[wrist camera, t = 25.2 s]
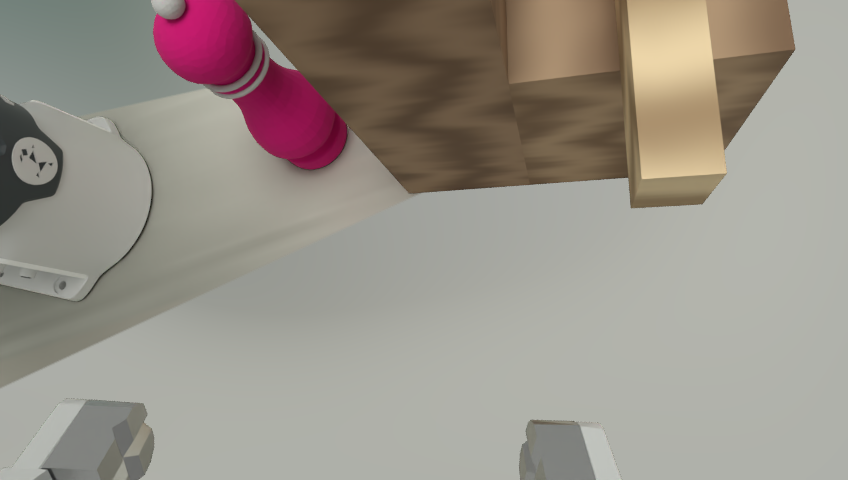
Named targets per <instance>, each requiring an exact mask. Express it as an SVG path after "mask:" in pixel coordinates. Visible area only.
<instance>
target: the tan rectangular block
mask: <svg viewBox="0 0 848 480" xmlns="http://www.w3.org/2000/svg"><path fill="white" fill-rule="evenodd" d="M615 9H616V22H617V35H618V48H619V61H620V74H621V87H622V100H623V113H624V126H625V139H626V152H627V165H628V178H629V191H630V204H631V208H644V207H660V206H661V207H662V206H680V205H698V204H703V203H704V201H705V200H706V199H707V198H708V196H709V195H710V194H711V193H712V191H713V190H714V189H715V188H716V186H717V185H718V184H719V183H720V181H721V180H722V179H723V177H724V176H725V175H726V174H727V170H726V162H725V154H724V146H723V138H722V130H721V121H720V113H719V105H718V97H717V89H716V80H715V72H714V64H713V56H712V48H711V39H710V31H709V23H708V15H707V7H706V0H615Z"/></svg>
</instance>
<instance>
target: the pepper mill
mask: <svg viewBox="0 0 848 480" xmlns="http://www.w3.org/2000/svg"><path fill="white" fill-rule="evenodd" d="M151 2H152V6H153V8H154V10H155V11H156V12H157V15H156V18H155V22H154V29H153V35H154V41H155V45H156V48H157V51H158V53H159V54H160V56H161V58H162V60H163V61H164V62H165V63H166V65H168V67H169V68H170V69H171V70H173V71H174V72H175V73H176V74H177V75H179V76H181V77H182V78H184V79H186V80H188V81H190V82H193V83H197V84H203V85H204V86H205V87H207V88H208V89H210V90H211V91H212V92H213V93H214V94H215V95H217V96H219V97H222V98H226V99H233V101H234V102H235V103H236V104H237V105H238V106H239V107H240V109H241V111H242V113H243V115H244V118H245V121H246V124H247V127H248V129H249V131H250V132H251V134H252V136H253V137H254V138H255V140H256V141H257V143H258V144H259V145H260V146H262V147H263V148H264V149H265V150H266V151H267V152H268V153H270V154H272V155H274V156H276V157H279V158H284V159H288V160H289V161H290V162H292V163H293V164H294V165H296V166H298V167H300V168H303V169H318V168H321V167H323V166H326V165H328V164H330V163H331V162H332V161H333V160H334V159H336V158H337V156H338V155H339V154H340V152H341V151H342V149H343V147H344V144H345V142H346V137H347V127H346V123H345V122H344V121H343V119H342V118H341V117H340V116H339V115H338V114H337V113H336V112H335V111H334V110H333V108H332V107H331V106H330V105H329V104H328V103H327V102H326V101H325V100H324V98H323V97H322V96H321V95H320V94H319V93H318V92H317V91H316V90H315V89H314V87H313V86H312V85H311V84H310V83H309V82H308V81H307V80H306V79H305V77H304V76H303V75H302V74H301V73H300V72H299V71H297V70H292V69H287V68H284V67H282V66H280V65H278V64H276V63H275V62H274V61H273V60H272V59H271V58H270V57H269V51H268V48H267V46H266V44H265V43H264V41H263V40H262V39H261V38H260V37H259V36H258V35H257V34H256V32H254V31H253V30H252V25H251V21H250V19H249V17H248V15H247V13H246V12H245V11H244V10H243V9H242V8H241V7H240V6H239V5H238V3H237V2H236V1H235V0H151Z"/></svg>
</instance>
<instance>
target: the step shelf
mask: <svg viewBox="0 0 848 480" xmlns="http://www.w3.org/2000/svg"><path fill="white" fill-rule="evenodd" d="M235 1H236V2H237V3H238V5H239V6H240V7H241V8H242V9H243V10H244V11H245V12H246V13H247V14H248V16H249V17H250V18H251V19H252V20H253V21H254V22H255V23H256V24H257V26H258V27H259V28H260V29H261V30H262V31H263V32H264V33H265V34H266V35H267V37H268V38H269V39H270V40H271V41H272V42H273V43H274V44H275V45H276V47H277V48H278V49H279V50H280V51H281V52H282V53H283V54H284V55H285V56H286V58H287V59H288V60H289V61H290V62H291V63H292V64H293V65H294V66H295V68H296V69H297V70H298V71H299V72H300V73H301V74H302V75H303V76H304V77H305V79H306V80H307V81H308V82H309V83H310V84H311V85H312V86H313V87H314V89H315V90H316V91H317V92H318V93H319V94H320V95H321V96H322V97H323V98H324V100H325V101H326V102H327V103H328V104H329V105H330V106H331V107H332V108H333V110H334V111H335V112H336V113H337V114H338V115H339V116H340V117H341V118H342V119H343V121H344V122H345V123H346V124H347V125H348V126H349V127H350V128H351V129H352V131H353V132H354V133H355V134H356V135H357V136H358V137H359V138H360V139H361V140H362V142H363V143H364V144H365V145H366V146H367V147H368V148H369V149H370V150H371V152H372V153H373V154H374V155H375V156H376V157H377V158H378V159H379V160H380V161H381V163H382V164H383V165H384V166H385V167H386V168H387V169H388V170H389V171H390V173H391V174H392V175H393V176H394V177H395V178H396V179H397V180H398V181H399V182H400V184H401V185H402V186H403V187H404V188H405V189H406V190H407V191H408V192H409V193H423V192H437V191H450V190H464V189H477V188H492V187H505V186H519V185H533V184H546V183H559V182H573V181H587V180H601V179H615V178H628V165H627V152H626V139H625V126H624V113H623V100H622V87H621V74H620V61H619V48H618V35H617V22H616V9H615V0H235ZM706 7H707V15H708V23H709V31H710V39H711V48H712V56H713V64H714V72H715V80H716V89H717V97H718V105H719V113H720V121H721V130H722V138H723V146H724V150H725V149H726V148H727V146H728V145H729V143H730V142H731V140H732V139H733V138H734V136H735V135H736V133H737V132H738V130H739V129H740V128H741V126H742V125H743V123H744V122H745V120H746V119H747V117H748V116H749V115H750V113H751V112H752V110H753V109H754V108H755V106H756V105H757V103H758V102H759V100H760V99H761V97H762V96H763V95H764V93H765V92H766V90H767V89H768V88H769V86H770V85H771V83H772V82H773V80H774V79H775V78H776V76H777V75H778V73H779V72H780V70H781V69H782V68H783V66H784V65H785V63H786V62H787V61H788V59H789V58H790V56H791V55H792V53H793V52H794V51H795V44H794V39H793V33H792V27H791V21H790V15H789V9H788V3H787V0H706Z"/></svg>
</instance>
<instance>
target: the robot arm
mask: <svg viewBox="0 0 848 480" xmlns="http://www.w3.org/2000/svg"><path fill="white" fill-rule="evenodd" d="M151 192H152V190H151V178H150V174H149V170H148V167H147V165H146V163H145V161H144V159H143V158H142V156H141V155H140V154H139V152H138V151H137V150H136V149H135V148H133V147H132V146H131V145H129V144H128V143H126V142H125V141H124V140H123V139H122V138H121V137H120V134H119V132H118V130H117V128H116V126H115V124H114V123H113V122H112V121H111V120H109V119H107V118H104V117H101V116H98V117H95V118H92V119H89V120H86V121H85V120H83V119H81V118H78V117H76V116H74V115H71V114H69V113H67V112H64V111H62V110H59V109H57V108H55V107H52V106H50V105H48V104H45V103H43V102H40V101H36V100H31V101H29V102H25V103H20V104H16V103H14V102H12V101H10V100H9V99H8V98H6V97H4V96H3V95H0V284H1V285H5V286H10V287H14V288H18V289H23V290H27V291H31V292H36V293H40V294H45V295H49V296H53V297H58V298H62V299H67V300H71V301H79V300H81V299H83V298H84V297H85V296H86V295H87V294H88V292H89V291H90V290H91V288H92V287H93V285H94V284H95V282H96V281H97V279H98V278H99V277H100V276H101V275H102V274H103V273H104V272H105V271H106V270H107V269H109V268H110V267H111V266H113V265H114V264H115V263H117V262H118V261H119V260H120V259H121V258H122V257H123V256H124V255H125V254H126V253H127V252H128V251H129V249H130V248H131V247H132V246H133V244H134V243H135V241H136V240H137V238H138V236H139V235H140V233H141V231H142V229H143V227H144V224H145V222H146V219H147V216H148V213H149V208H150V203H151ZM146 416H147V412H146V409H145V406H144V404H142V403H130V402H115V401H102V400H86V399H85V400H84V399H65V400H63V401H62V402H60V403H59V404H58V405H57V406H56V407H55V409H54V410H53V412H52V413H51V414H50V416H49V417H48V418H47V420H46V421H45V422H44V424H43V425H42V427H41V428H40V429H39V431H38V432H37V433H36V435H35V436H34V437H33V439H32V440H31V441H30V443H29V444H28V446H27V447H26V448H25V450H24V451H23V453H22V454H21V455H20V456H19V458H18V459H17V461H16V462H15V463H14V465H13V466H12V467H11V468H2V469H1V470H0V480H138V479H140V478H141V477H142V476H144V475H145V473H146V471H147V469H148V466H149V464H150V462H151V458H152V454H153V450H154V435H153V431H152V429H151V428H150V427H149V426H148V425H146V424H145V423H144V420H145V418H146ZM526 435H527V441H526V442H525V443H524V444H522V448H521V453H520V463H519V471H520V480H622V479H621V476H620V473H619V470H618V468H617V464H616V462H615V459H614V456H613V453H612V451H611V448H610V445H609V442H608V439H607V437H606V434H605V431H604V428H603V426H602V425H601V424H600V423H592V422H591V423H590V422H574V421H551V420H530V421H529V423H528V425H527V428H526Z"/></svg>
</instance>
